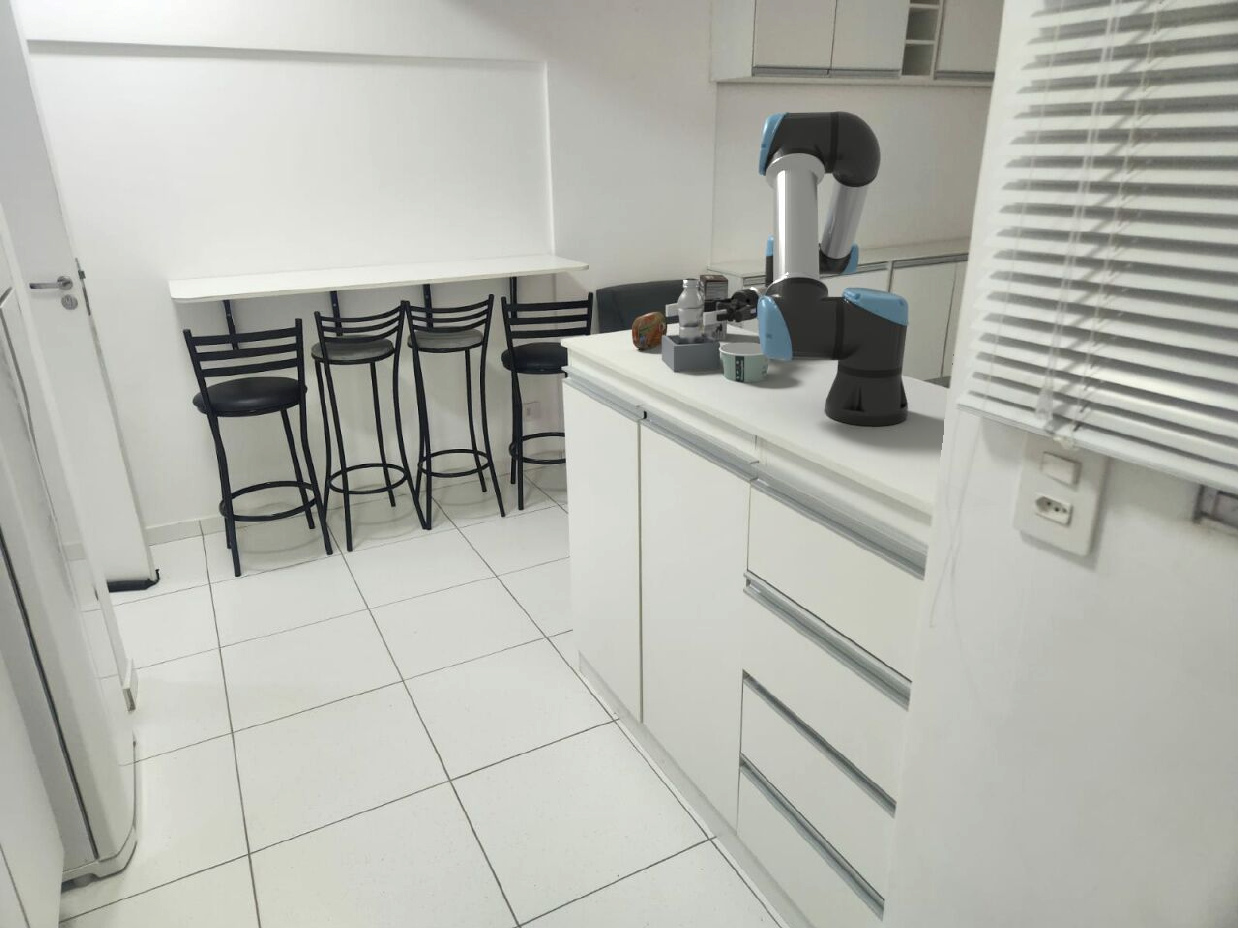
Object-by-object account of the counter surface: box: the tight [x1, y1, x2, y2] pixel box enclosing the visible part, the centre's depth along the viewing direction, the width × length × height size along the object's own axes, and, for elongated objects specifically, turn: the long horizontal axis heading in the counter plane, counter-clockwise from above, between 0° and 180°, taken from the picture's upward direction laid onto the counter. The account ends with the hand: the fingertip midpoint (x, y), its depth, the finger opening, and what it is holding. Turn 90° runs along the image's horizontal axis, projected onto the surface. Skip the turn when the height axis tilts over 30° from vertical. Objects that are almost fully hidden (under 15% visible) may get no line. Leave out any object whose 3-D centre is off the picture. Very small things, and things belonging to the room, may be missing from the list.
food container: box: [719, 341, 771, 383], centre depth 179 cm, size 12×12×6 cm
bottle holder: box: [661, 333, 721, 373], centre depth 191 cm, size 12×11×6 cm
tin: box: [631, 311, 668, 350], centre depth 210 cm, size 15×3×8 cm, turn 148°
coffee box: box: [699, 274, 729, 341], centre depth 217 cm, size 9×6×16 cm
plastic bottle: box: [676, 277, 705, 345], centre depth 188 cm, size 6×7×20 cm
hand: (684, 315), depth 186 cm, fingers open, 13 cm apart
